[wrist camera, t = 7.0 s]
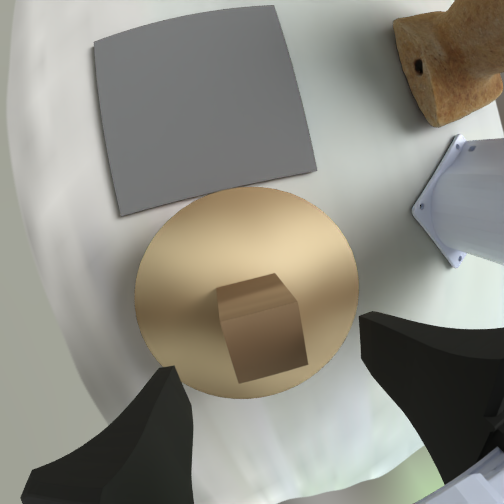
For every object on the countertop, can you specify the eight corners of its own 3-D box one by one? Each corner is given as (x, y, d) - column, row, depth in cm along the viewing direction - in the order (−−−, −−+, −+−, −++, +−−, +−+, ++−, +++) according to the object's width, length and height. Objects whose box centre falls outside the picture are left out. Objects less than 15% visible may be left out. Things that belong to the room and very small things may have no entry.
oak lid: (110, 220, 14) (71, 234, 10) (335, 167, 15) (383, 162, 11) (178, 407, 17) (174, 462, 12) (358, 358, 18) (395, 400, 14)
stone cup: (450, 2, 18) (542, -42, 3) (499, 97, 21) (605, 85, 6) (351, 8, 17) (462, -91, 3) (419, 133, 20) (582, 116, 6)
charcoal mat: (95, 44, 16) (93, 42, 15) (272, 8, 17) (273, 5, 16) (123, 215, 19) (121, 216, 18) (314, 171, 20) (317, 170, 19)
